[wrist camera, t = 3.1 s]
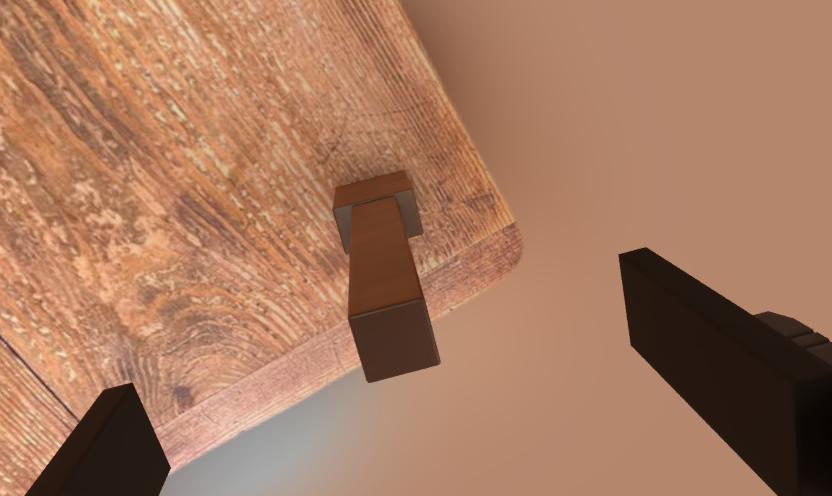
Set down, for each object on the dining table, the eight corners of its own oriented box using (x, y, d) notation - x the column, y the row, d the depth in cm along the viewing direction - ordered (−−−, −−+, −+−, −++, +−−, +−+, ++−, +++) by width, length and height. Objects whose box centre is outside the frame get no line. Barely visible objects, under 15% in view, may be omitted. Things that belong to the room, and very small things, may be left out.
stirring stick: (404, 169, 34) (454, 285, 17) (414, 209, 34) (472, 360, 17) (335, 187, 34) (314, 322, 16) (346, 227, 34) (337, 395, 17)
